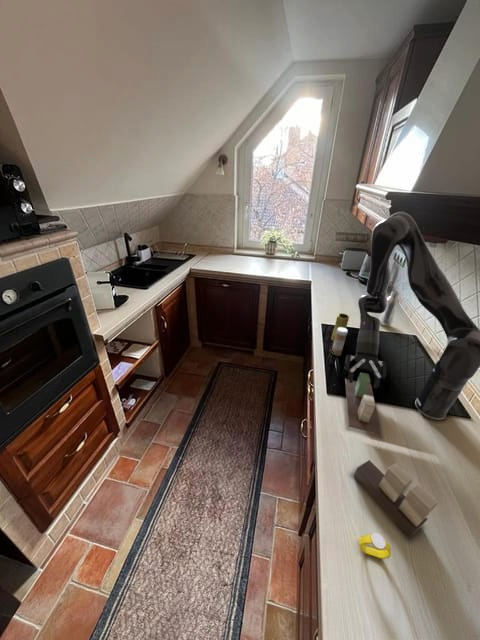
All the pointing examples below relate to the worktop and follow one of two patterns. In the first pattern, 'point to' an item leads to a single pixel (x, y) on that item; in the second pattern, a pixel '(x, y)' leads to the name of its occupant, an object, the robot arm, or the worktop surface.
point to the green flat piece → (362, 384)
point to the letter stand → (397, 496)
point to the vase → (340, 324)
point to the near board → (355, 407)
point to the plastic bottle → (390, 309)
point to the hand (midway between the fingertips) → (363, 385)
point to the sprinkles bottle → (339, 341)
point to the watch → (377, 543)
